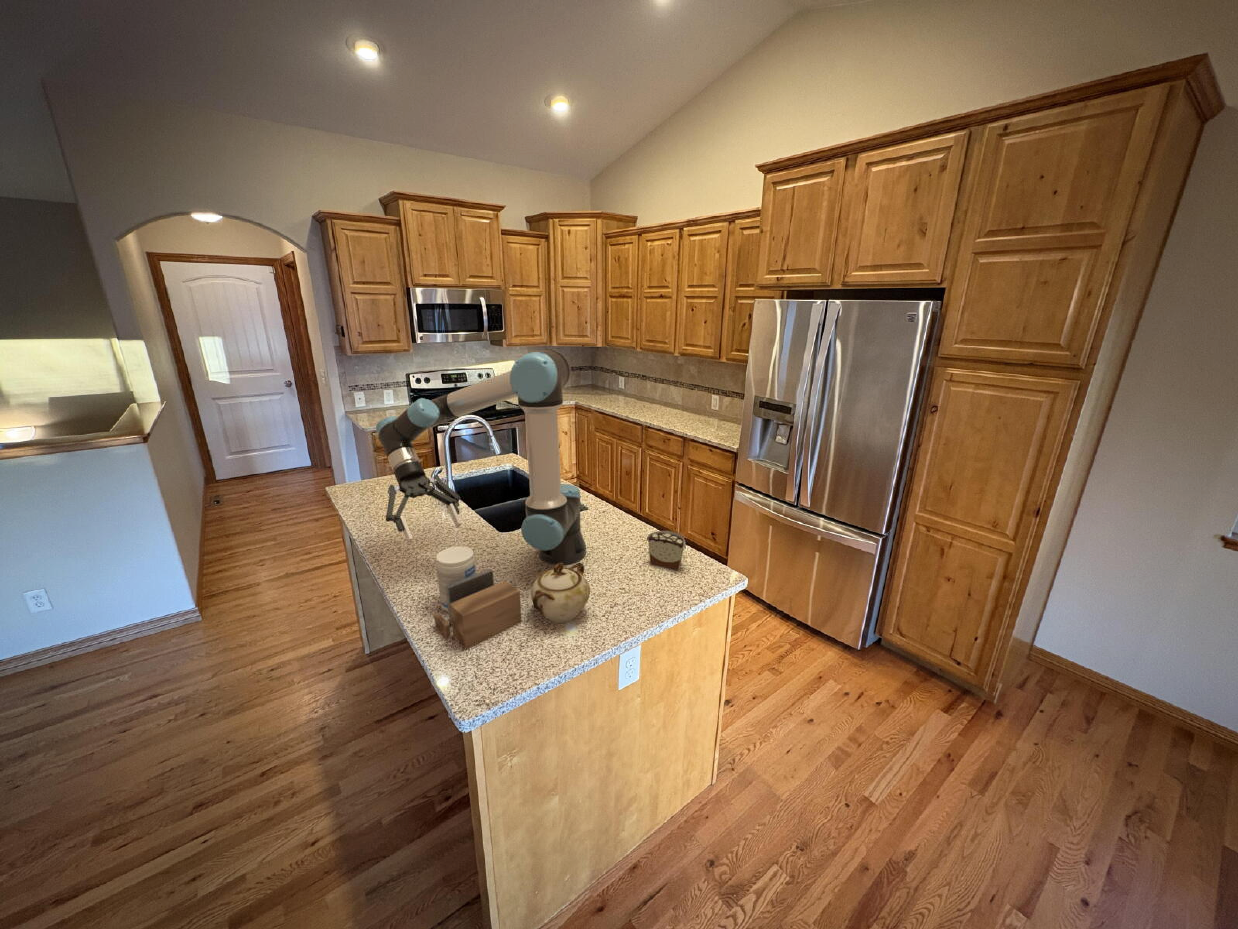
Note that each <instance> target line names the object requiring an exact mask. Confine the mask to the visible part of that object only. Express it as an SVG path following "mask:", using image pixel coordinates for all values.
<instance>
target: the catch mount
mask: <svg viewBox="0 0 1238 929" xmlns="http://www.w3.org/2000/svg"><path fill="white" fill-rule="evenodd" d="M449 605H450V614H451V622H450V623H449V622H448V621H447V620H446V619H445V618H444V617H443V616H442V615H441V614H440V613H439V612H437V613H434V614H433V617H434V624H435V625H434V626H435V628H436V629H437V630H438V631H439V632H440V633H441V634H442V635H443V636H444V637H445V638H446V639H449V638H451V637H452V636H453V638H454V639H455V640H456V641H457V642H458V643H459V644H460V645H461V646H462V647H463V648H464V649H465V650H468V649H470V648H473V647H474V646H476V645H478V644H481V643H483V642H485V641H487V640H489V639H491V638H492V637H495V636H497V635H499V634H501V633H503V632H505V631H507V630H509V629H511V628H512V627H515V626H517V625H519V624H521V623H522V611H521V610H522V609H521V608H522V607H521V592H520V590H519V589H517V588H516V587H515V586H513V585H512V584H511V583H510V582H508V581H507V580H503V581H501V582H498V583H496V584H494V585H493V586H491V587H488V588H486V589H484V590H481V591H479V592H476V593H474V594H472V595H469V596H467V597H464V598H462V599H460V600H457V601H455V602H453V603H450V604H449ZM450 624H451V627H450ZM451 630H452V635H451Z"/></svg>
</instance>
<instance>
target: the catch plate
mask: <svg viewBox="0 0 1238 929" xmlns="http://www.w3.org/2000/svg"><path fill="white" fill-rule="evenodd" d="M493 585H495V582H494V571H493V570H492V569H491V568H488V569H485V570H482V571H480V572H476V574H474V575H472V576H469V577H467V578H464V579H462V580H459V581H456V582H454V583H451V584H449V585H446V595H447V604H448V611H447V612H448V620H449V622H450V623H451V614H450V605H449V604H450V603H453V602H455V601H457V600H460V599H462V598H464V597H467V596H469V595H472V594H474V593H476V592H479V591H481V590H484V589H486V588H488V587H491V586H493Z"/></svg>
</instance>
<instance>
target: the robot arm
mask: <svg viewBox="0 0 1238 929" xmlns="http://www.w3.org/2000/svg"><path fill="white" fill-rule="evenodd" d="M571 370H572V369H571V363H570V362H569V360H568V358H567V357H566V356H565V355H564V353H562V352H560V351H558V350H556V349H549V348H548V349H547V348H545V349H543V350H539V351H538V350H537V351H532V352H527V353H525V354H524V355H522V356H521V357H520V358H518V359H517V360H516V361H515V362H514V363H513V366H512V367H511V370H509V371H506V372H503V373H501V374H498V375H496V376H493V377H490V378H487V379H485V380H481V381H480V382H479V381H478V382H477V383H474V384H472V385H469V386H466V387H463V388H460V389H458V390H455V391H452V392H450V393H447V394H444V395H442V396H439V397H436V398H433V399H431V400H430V399H428V398H427V399H426V398H425V397H424V398H423V397H421V398H418V399H417V400H415V401H414V402H413V403H411V404H409V406H408V407H407V408H406V409H405V410H404V411H403V412H402V413H401V414H400V415H399V416H387V417H385V418H384V419H381V420H379V421H378V422H377V423H376V426H375V431H376V434H377V439H378V440H379V442H380V444H381V446H382V448H383V451H384V452H385V455H386V457H387V458H386V459H387V460H388V462H389V465H390V467H391V470H392V472H393V475H394V477H395V480H396V482H397V484H398V485H394V484H390V485H389V487H388V489H387V492H388V496H389V497H388V503H387V508H386V509H387V510H386V516H385V521H386V522H387V523H388V522H393V523H394V524H395V525H396V528H397V531H398V532H399V533H401V532H403V535H404V537H405V540H406V542H407V544H410V543H411V542H412V540H413V536H412V532H411V531H410V529H409V526H408V524H407V521H406V519H405V516H401V515H402V514H403V511H404V509H405V507H406V505H407V502H408V500H409V499H410V498H412V499H415V498H416V499H417V498H418V497H424V496H425V495H426V496H428V497H431V498H433V499H436V500H438V501H439V502H442V504H445V505H446V506H448V507H447V510H448V513H449V515H450V517H451V519H452V523H453V524H454V527H456V529H458V528H460V526H461V525H462V522H461V519H460V517H459V514H460V510H459V507H458V506H457V504H458V503H459V502H460V500H461V496H460V495H459V494H457V492H455V491H454V490H453V489H452V488H451V487H450V486H448V485H447V484H446V483H444V481H443V480H442V479H441V478H440V476H439V475H438V474H435V475H434V476H433V477H430V478H429V477H427V475H426V471H425V469H424V467H423V465H422V464H421V462H420V458H419V456H418V454H417V452H416V449H415V447H414V445H413V442H414V441H415V440H416V439H417V438H418V437H419V436H420V435H422V434H423V433H425V431H427V430H429V429H432V428H434V427H437V426H439V425H441V424H444V423H446V422H449V421H452V420H455V419H457V418H459V417H462V416H465V415H468V414H471V413H474V412H477V411H479V410H483V409H485V408H488V407H491V406H494V405H496V404H500V403H502V402H505V401H508V400H511V399H514V398H517V404H518V407H519V408H520V409H521V410H522V411H524V420H525V432H526V434H525V435H526V436H525V437H526V448H527V449H526V450H527V464H528V466H527V467H528V480H529V496H528V497H527V498H526V499H525V515H526V516H525V518H524V520H522V524H521V528H520V530H521V536H522V538H523V540H524V541H525V542H526V543H527V544H528V545H530V546H531V547H532V548H533V549H536V550H538V556H539V558H540V559H541V560H542V561H543V562H545V563H547V564H551V565H557V564H558V563H563V564H564V566H566V565H571V564H574V563H575V564H576V562H577V563H579V561H581V560H583V559H584V558H585V557H586V555H587V544H586V542H585V539H584V536H583V534H582V531H581V530H582V529H581V490H580V488H579V487H578V486H575V485H572V484H568V483H561V482H562V480H561V479H562V478H561V463H560V462H561V460H560V456H561V455H560V438H559V437H560V436H559V417H558V416H559V415H558V410H559V409H560V408H561V407H562V406H563V405H564V404H563V403H564V402H563V401H564V400H563V388H564V387H566V386H567V384H568V382H569V381H570V379H571V374H572V371H571ZM431 484H432V485H431ZM434 486H435V487H434ZM436 488H437V489H438V490H437V489H436ZM398 492H400V493H402V494H403V497H402V500H401V502H400V505H399V506H398V509H397V510H396V513H395V514H393V512H394V507H395V500H396V495H397V494H398Z"/></svg>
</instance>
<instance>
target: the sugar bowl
mask: <svg viewBox="0 0 1238 929" xmlns="http://www.w3.org/2000/svg"><path fill="white" fill-rule="evenodd" d="M584 573H585V565H584V563H582V562H577V563H575V564H573V565H571V566H570V567H565V565H564V564H563V563H558V564H555V566H554V568H551V569H548V570H545V571H544V572H542V573H541V574H540V575H539V576H538V577H537V578H536V579H535V581H534V582H533V584H532V586H531V590H530V599H531V601H532V605H533V608H534V609H535V610H537V611H538V612H539V613H540V614H541V615H543V616H544V617H546V618H547V620H548V621H550V622H553V623H556V624H563V623H567V622H571V621H572V620H573V619H575V618H576V617H577V616H578V614H579V613H580V612H581V611H582V610H583V609H584V608H585V605H586V604H587V603H588V600H589V598H590V595H591V588H590V587H591V586H590V584H589V582H588V580H587V578H586V577H585V576H584Z"/></svg>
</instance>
